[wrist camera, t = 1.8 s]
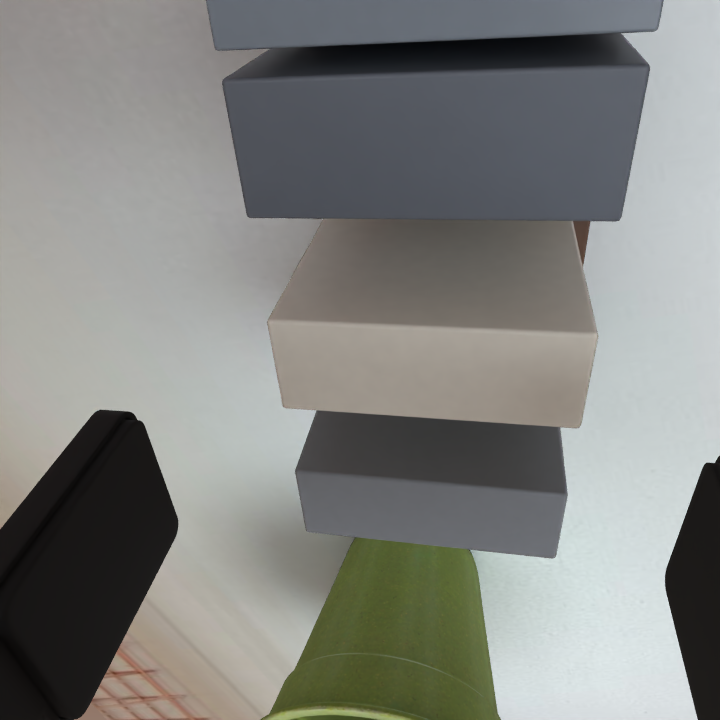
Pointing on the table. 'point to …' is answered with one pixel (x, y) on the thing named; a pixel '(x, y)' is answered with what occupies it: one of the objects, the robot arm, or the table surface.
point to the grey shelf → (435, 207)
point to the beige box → (438, 322)
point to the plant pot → (396, 641)
